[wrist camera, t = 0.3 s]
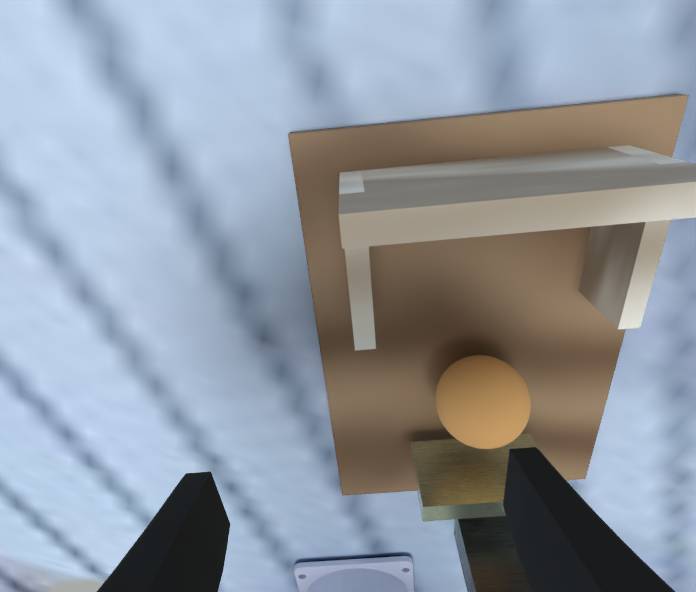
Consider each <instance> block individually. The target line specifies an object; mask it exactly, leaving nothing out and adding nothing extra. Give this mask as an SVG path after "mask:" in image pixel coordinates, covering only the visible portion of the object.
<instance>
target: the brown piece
mask: <svg viewBox="0 0 696 592" xmlns="http://www.w3.org/2000/svg"><path fill="white" fill-rule="evenodd" d="M688 96H689V95H682V94H676V95H666V96H656V97H645V98H635V99H625V100H615V101H605V102H595V103H585V104H574V105H564V106H554V107H544V108H534V109H524V110H513V111H503V112H493V113H483V114H473V115H463V116H453V117H442V118H432V119H422V120H412V121H402V122H392V123H381V124H371V125H361V126H351V127H341V128H331V129H320V130H310V131H300V132H290V133H289V134H288V137H289V143H290V150H291V157H292V163H293V170H294V177H295V183H296V190H297V197H298V203H299V210H300V217H301V223H302V230H303V237H304V243H305V250H306V257H307V263H308V270H309V277H310V283H311V290H312V297H313V303H314V310H315V317H316V323H317V330H318V337H319V343H320V350H321V357H322V363H323V370H324V377H325V383H326V390H327V397H328V403H329V410H330V417H331V423H332V430H333V437H334V443H335V450H336V457H337V463H338V470H339V477H340V483H341V490H342V496H343V495H357V494H372V493H386V492H401V491H415V490H417V484H416V478H415V473H414V467H413V461H412V454H411V442H420V441H434V440H448V439H456V438H455V437H453V436H452V435H451V434H450V433H449V432H448V431H447V430H446V428H445V427H444V425H443V424H442V422H441V420H440V418H439V416H438V413H437V409H436V402H435V395H436V389H437V385H438V382H439V380H440V378H441V376H442V375H443V373H444V372H445V371H446V370H447V368H448V367H449V366H451V365H452V364H453V363H455V362H456V361H458V360H460V359H462V358H465V357H469V356H474V355H485V356H491V357H494V358H497V359H500V360H502V361H504V362H506V363H507V364H509V365H510V366H512V367H513V368H514V369H515V370H516V371H517V372H518V373H519V374H520V376H521V377H522V379H523V380H524V382H525V384H526V386H527V388H528V391H529V395H530V400H531V411H530V417H529V420H528V423H527V425H526V427H525V428H524V430H523V431H522V433H521V434H531V436H532V438H533V440H534V442H535V444H536V446H537V448H538V449H539V450H540V451H541V452H542V454H543V455H544V456H545V457H546V458H547V459H548V461H549V462H550V463H551V464H552V465H553V466H554V467H555V469H556V470H557V471H558V472H559V473H560V474H561V475H562V477H563V478H564V479H565V480H576V479H585V478H586V474H587V471H588V467H589V463H590V459H591V456H592V452H593V448H594V445H595V441H596V437H597V434H598V430H599V426H600V422H601V419H602V415H603V411H604V408H605V404H606V400H607V396H608V393H609V389H610V385H611V382H612V378H613V374H614V371H615V367H616V363H617V359H618V356H619V352H620V348H621V345H622V341H623V337H624V334H625V330H626V329H630V328H640V326H641V322H642V319H643V315H644V312H645V308H646V305H647V301H648V298H649V294H650V291H651V287H652V284H653V281H654V277H655V274H656V270H657V267H658V263H659V260H660V256H661V253H662V249H663V246H664V242H665V239H666V236H667V232H668V229H669V225H670V222H671V220H672V219H683V218H694V217H696V164H694V163H690V162H687V161H683V160H680V159H676V158H673V157H672V156H673V152H674V148H675V145H676V141H677V137H678V134H679V130H680V126H681V122H682V119H683V115H684V111H685V108H686V104H687V100H688Z"/></svg>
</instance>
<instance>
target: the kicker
mask: <svg viewBox="0 0 696 592" xmlns="http://www.w3.org/2000/svg"><path fill="white" fill-rule="evenodd" d="M529 447H536V448H537V446H536V444H535V442H534V440H533V438H532V436H531V434H520V435H519V436H518V437H517V438H516V439H515V440H513V441H512V442H510V443H509V444H507V445H505V446H502V447H499V448H494V449H479V448H474V447H471V446H468V445H466V444H464V443H462V442H460V441H459V440H457V439H448V440H434V441H420V442H411V454H412V461H413V467H414V473H415V478H416V484H417V490H418V495H419V501H420V507H421V513H422V518H423V521H435V520H450V519H455V524H454V536H455V540H456V544H457V549H458V553H459V557H460V561H461V566H462V570H463V574H464V578H465V582H466V587H467V591H468V592H532V590H531V587H530V585H529V582H528V580H527V577H526V575H525V572H524V570H523V567H522V564H521V562H520V559H519V557H518V554H517V552H516V549H515V545H514V542H513V539H512V535H511V532H510V528H509V525H508V521H507V518H506V514H505V510H504V507H503V499H504V491H505V483H506V474H507V466H508V458H509V450H510V449H516V448H529ZM537 449H538V448H537Z"/></svg>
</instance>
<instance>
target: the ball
mask: <svg viewBox="0 0 696 592" xmlns="http://www.w3.org/2000/svg"><path fill="white" fill-rule="evenodd" d="M435 402H436V409H437V413H438V416H439V418H440V420H441V422H442V424H443V425H444V427H445V428H446V430H447V431H448V432H449V433H450V434H451V435H452V436H453V437H455V438H456V439H457V440H459V441H460V442H462V443H464V444H466V445H468V446H471V447H474V448H479V449H494V448H499V447H502V446H505V445H507V444H509V443H510V442H512V441H513V440H515V439H516V438H517V437H518V436H519V435H520V434H521V433H522V431H523V430H524V428H525V427H526V425H527V423H528V420H529V417H530V411H531V400H530V395H529V391H528V388H527V386H526V384H525V382H524V380H523V379H522V377H521V376H520V374H519V373H518V372H517V371H516V370H515V369H514V368H513V367H512V366H510V365H509V364H507V363H506V362H504V361H502V360H500V359H497V358H494V357H491V356H485V355H474V356H469V357H465V358H462V359H460V360H458V361H456V362H455V363H453V364H452V365H451V366H449V367H448V368H447V370H446V371H445V372H444V373H443V375H442V376H441V378H440V380H439V382H438V385H437V389H436V395H435Z"/></svg>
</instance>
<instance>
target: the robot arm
mask: <svg viewBox="0 0 696 592" xmlns="http://www.w3.org/2000/svg"><path fill="white" fill-rule="evenodd" d="M503 507H504V510H505V514H506V518H507V521H508V525H509V528H510V532H511V535H512V539H513V542H514V545H515V549H516V552H517V554H518V557H519V559H520V562H521V564H522V567H523V570H524V572H525V575H526V577H527V580H528V582H529V585H530V587H531V590H532V592H675V591H674V590H673V589H672V588H671V587H670V586H669V585H668V584H666V583H665V582H664V581H663V580H662V579H661V578H660V577H659V576H658V575H657V574H656V573H655V572H654V571H653V570H652V569H651V568H650V567H649V566H648V565H647V564H646V563H644V562H643V561H642V560H641V559H640V558H639V557H638V556H637V555H636V554H635V553H634V552H633V551H632V550H631V549H630V548H629V547H628V546H627V545H626V544H625V543H624V542H623V541H622V540H621V539H620V538H619V537H618V536H617V535H616V534H615V532H614V531H613V530H612V529H611V528H610V527H609V526H608V525H607V524H606V523H605V522H604V521H603V520H602V519H601V518H600V517H599V516H598V515H597V514H596V513H595V512H594V511H593V510H592V508H591V507H590V506H589V505H588V504H587V503H586V502H585V501H584V500H583V499H582V498H581V497H580V495H579V494H578V493H577V492H576V491H575V490H574V489H573V488H572V487H571V486H570V484H569V483H568V482H567V481H566V480H565V479H564V478H563V477H562V475H561V474H560V473H559V472H558V471H557V470H556V469H555V467H554V466H553V465H552V464H551V463H550V462H549V461H548V459H547V458H546V457H545V456H544V455H543V454H542V452H541V451H540V450H539V449H537V448H536V447H529V448H516V449H510V450H509V458H508V466H507V474H506V483H505V491H504V499H503ZM229 528H230V522H229V520H228V517H227V514H226V512H225V509H224V506H223V504H222V501H221V498H220V495H219V493H218V490H217V487H216V485H215V482H214V479H213V476H212V474H211V472H201V473H187V474H185V476H184V477H183V478H182V479H181V481H180V482H179V483H178V485H177V486H176V488H175V489H174V490H173V492H172V493H171V495H170V496H169V497H168V499H167V500H166V501H165V503H164V504H163V506H162V507H161V508H160V510H159V511H158V513H157V514H156V515H155V517H154V518H153V519H152V521H151V522H150V524H149V525H148V526H147V528H146V529H145V530H144V532H143V533H142V534H141V536H140V537H139V538H138V540H137V541H136V542H135V544H134V545H133V546H132V548H131V549H130V550H129V552H128V553H127V554H126V555H125V557H124V558H123V559H122V561H121V562H120V563H119V565H118V566H117V567H116V569H115V570H114V571H113V572H112V574H111V575H110V576H109V577H108V579H107V580H106V581H105V582H104V584H103V585H102V586H101V587H100V588H99V590H98V591H97V592H218V588H219V584H220V580H221V576H222V572H223V567H224V561H225V555H226V549H227V542H228V535H229ZM294 574H295V578H296V582H297V585H298V589H299V592H414V581H413V561H412V558H410V557H408V556H396V557H381V558H365V559H349V560H333V561H318V562H302V563H297V564H296V565H295V566H294Z"/></svg>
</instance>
